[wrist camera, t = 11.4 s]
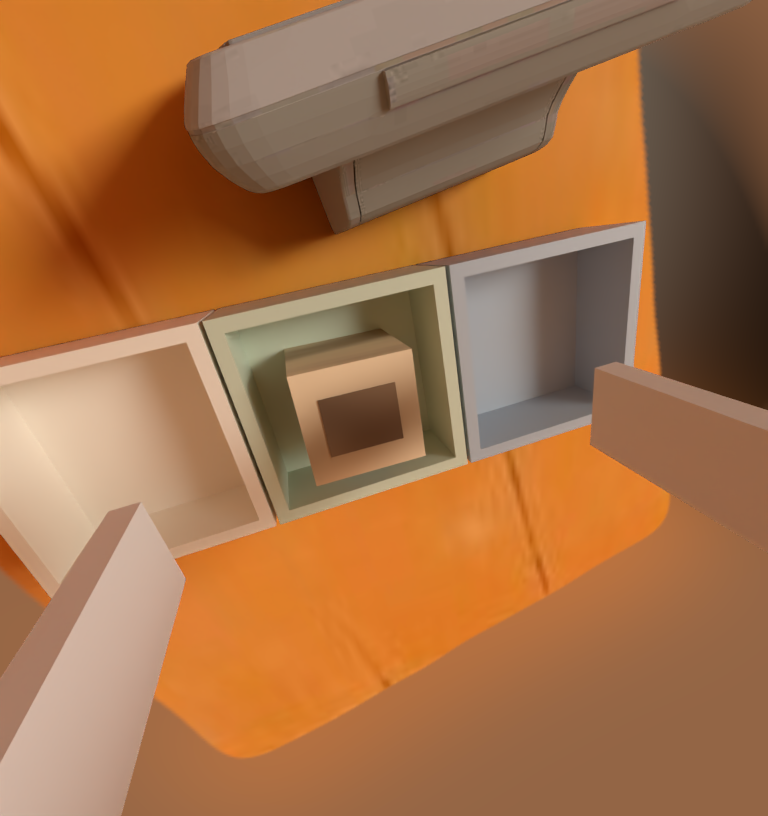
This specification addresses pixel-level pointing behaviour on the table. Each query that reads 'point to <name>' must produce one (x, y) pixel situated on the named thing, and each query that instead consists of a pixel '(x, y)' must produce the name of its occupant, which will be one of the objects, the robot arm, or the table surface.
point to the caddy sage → (322, 320)
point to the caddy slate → (540, 330)
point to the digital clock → (406, 91)
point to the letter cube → (355, 403)
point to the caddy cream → (123, 445)
